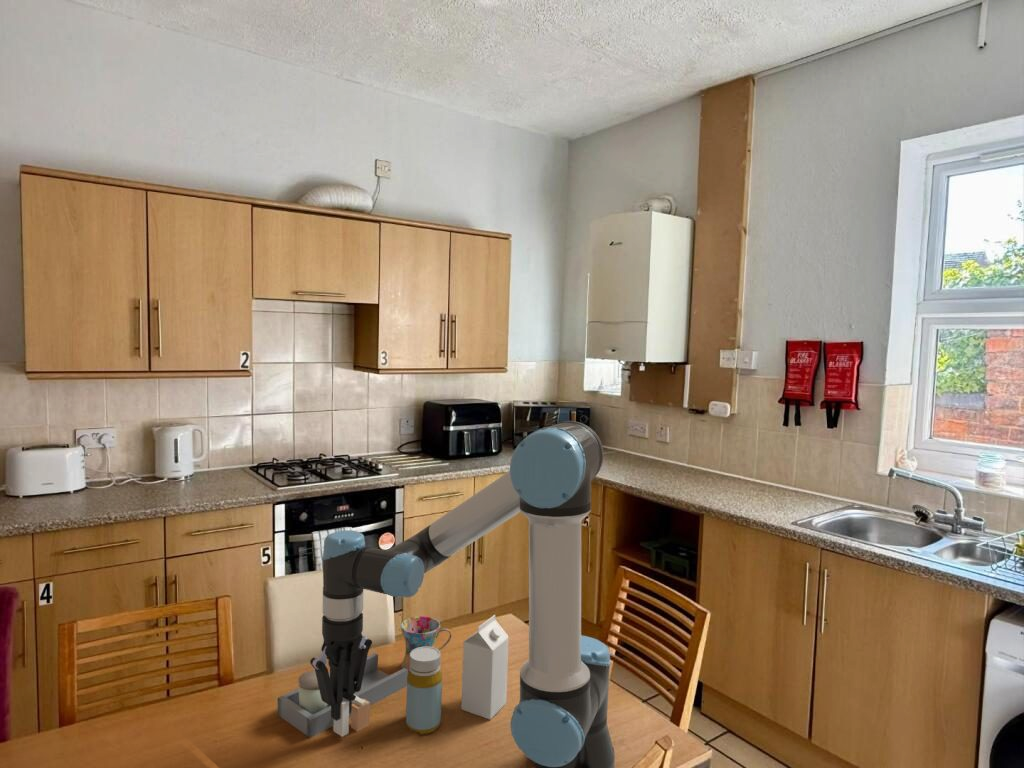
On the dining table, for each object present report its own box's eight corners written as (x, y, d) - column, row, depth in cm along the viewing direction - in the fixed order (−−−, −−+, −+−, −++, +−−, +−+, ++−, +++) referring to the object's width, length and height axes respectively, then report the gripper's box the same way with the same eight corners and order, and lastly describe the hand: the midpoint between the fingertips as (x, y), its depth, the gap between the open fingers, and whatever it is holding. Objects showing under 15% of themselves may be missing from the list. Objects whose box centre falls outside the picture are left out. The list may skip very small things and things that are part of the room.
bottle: (434, 738, 125) (436, 664, 124) (400, 732, 127) (402, 659, 126) (445, 718, 132) (447, 647, 131) (413, 712, 134) (414, 643, 133)
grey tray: (407, 688, 143) (408, 669, 142) (310, 741, 123) (310, 720, 123) (374, 670, 150) (374, 652, 149) (277, 718, 130) (277, 697, 130)
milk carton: (461, 710, 135) (463, 623, 134) (478, 694, 141) (481, 610, 140) (490, 720, 132) (493, 631, 130) (506, 703, 138) (509, 618, 137)
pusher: (369, 725, 128) (370, 699, 127) (357, 732, 125) (357, 705, 125) (324, 697, 137) (324, 673, 137) (312, 703, 135) (312, 678, 134)
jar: (336, 714, 131) (336, 677, 130) (309, 728, 126) (310, 689, 125) (318, 703, 134) (318, 666, 134) (291, 716, 130) (292, 678, 129)
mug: (399, 679, 146) (400, 634, 146) (399, 659, 155) (400, 616, 155) (452, 676, 148) (453, 632, 148) (449, 656, 158) (450, 614, 157)
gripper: (357, 597, 129) (355, 710, 131) (301, 618, 119) (300, 740, 121) (382, 608, 125) (380, 724, 126) (325, 631, 114) (324, 757, 116)
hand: (341, 732), depth 123 cm, fingers closed
